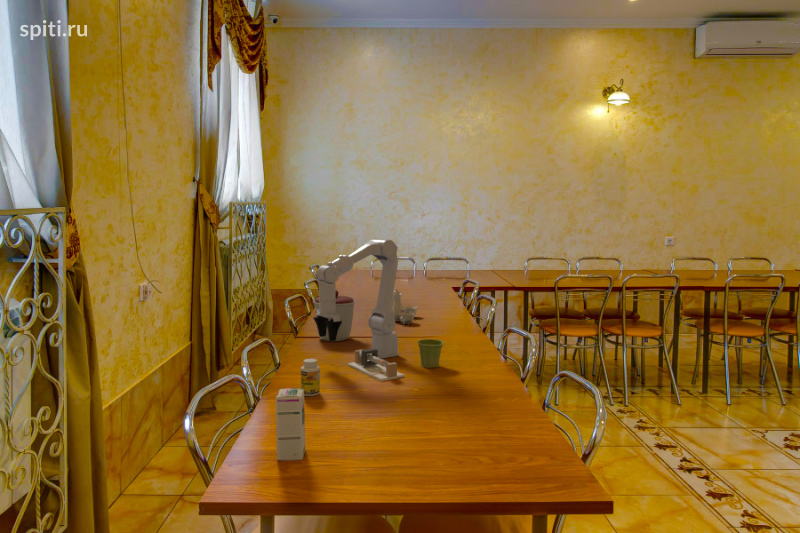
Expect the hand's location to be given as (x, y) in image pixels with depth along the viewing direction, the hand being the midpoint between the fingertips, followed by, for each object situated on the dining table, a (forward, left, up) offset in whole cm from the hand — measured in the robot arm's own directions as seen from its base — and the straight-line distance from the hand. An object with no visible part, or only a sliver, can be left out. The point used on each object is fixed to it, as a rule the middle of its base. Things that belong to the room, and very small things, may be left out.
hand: (327, 338), depth 196 cm
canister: (-22, -36, -10) cm, 43 cm away
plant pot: (-31, +19, -10) cm, 38 cm away
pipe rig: (-11, +14, -10) cm, 20 cm away
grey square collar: (-11, +11, -9) cm, 17 cm away
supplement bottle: (+18, +24, -10) cm, 32 cm away
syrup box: (+40, +60, -10) cm, 73 cm away
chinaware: (-70, -55, -10) cm, 89 cm away
